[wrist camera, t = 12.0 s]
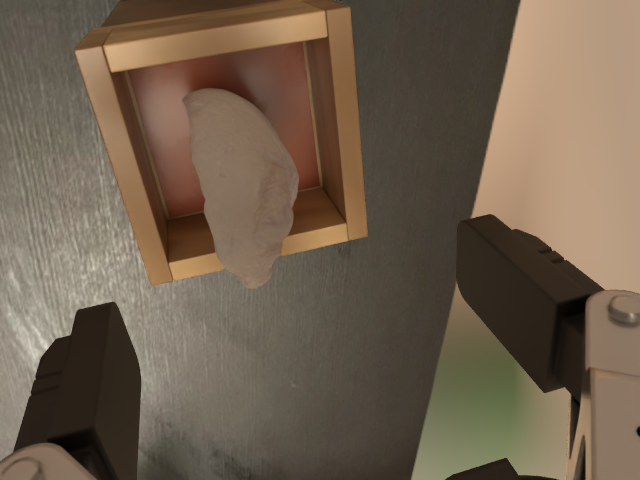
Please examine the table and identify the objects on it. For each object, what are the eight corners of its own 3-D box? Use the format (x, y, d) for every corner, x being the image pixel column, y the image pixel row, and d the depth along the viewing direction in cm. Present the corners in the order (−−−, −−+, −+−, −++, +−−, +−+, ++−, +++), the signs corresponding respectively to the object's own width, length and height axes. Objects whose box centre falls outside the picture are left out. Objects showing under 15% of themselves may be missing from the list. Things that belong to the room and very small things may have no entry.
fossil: (166, 72, 22) (170, 155, 13) (249, 49, 22) (304, 115, 14) (211, 197, 25) (238, 330, 16) (284, 175, 25) (346, 293, 17)
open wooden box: (153, 230, 26) (151, 286, 22) (90, 28, 21) (72, 49, 17) (336, 191, 28) (368, 236, 23) (315, -6, 23) (350, 5, 19)
